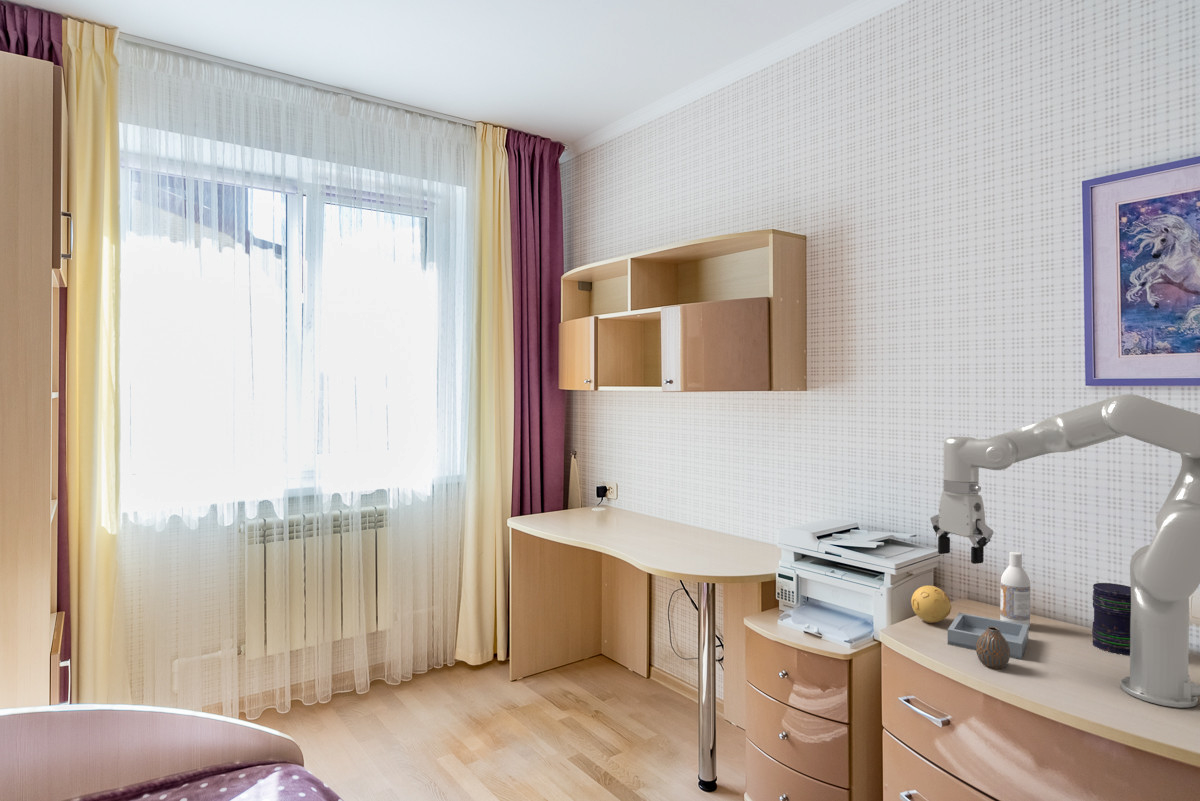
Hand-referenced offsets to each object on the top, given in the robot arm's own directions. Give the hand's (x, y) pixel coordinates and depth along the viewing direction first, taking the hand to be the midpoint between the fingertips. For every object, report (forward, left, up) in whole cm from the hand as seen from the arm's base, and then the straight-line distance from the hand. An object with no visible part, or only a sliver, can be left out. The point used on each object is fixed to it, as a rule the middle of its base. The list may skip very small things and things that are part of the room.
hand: (960, 558), depth 163 cm
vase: (-7, +2, -24) cm, 25 cm away
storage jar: (-30, -29, -24) cm, 48 cm away
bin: (-4, -14, -24) cm, 28 cm away
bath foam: (-8, -32, -24) cm, 41 cm away
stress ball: (+11, -21, -24) cm, 34 cm away
